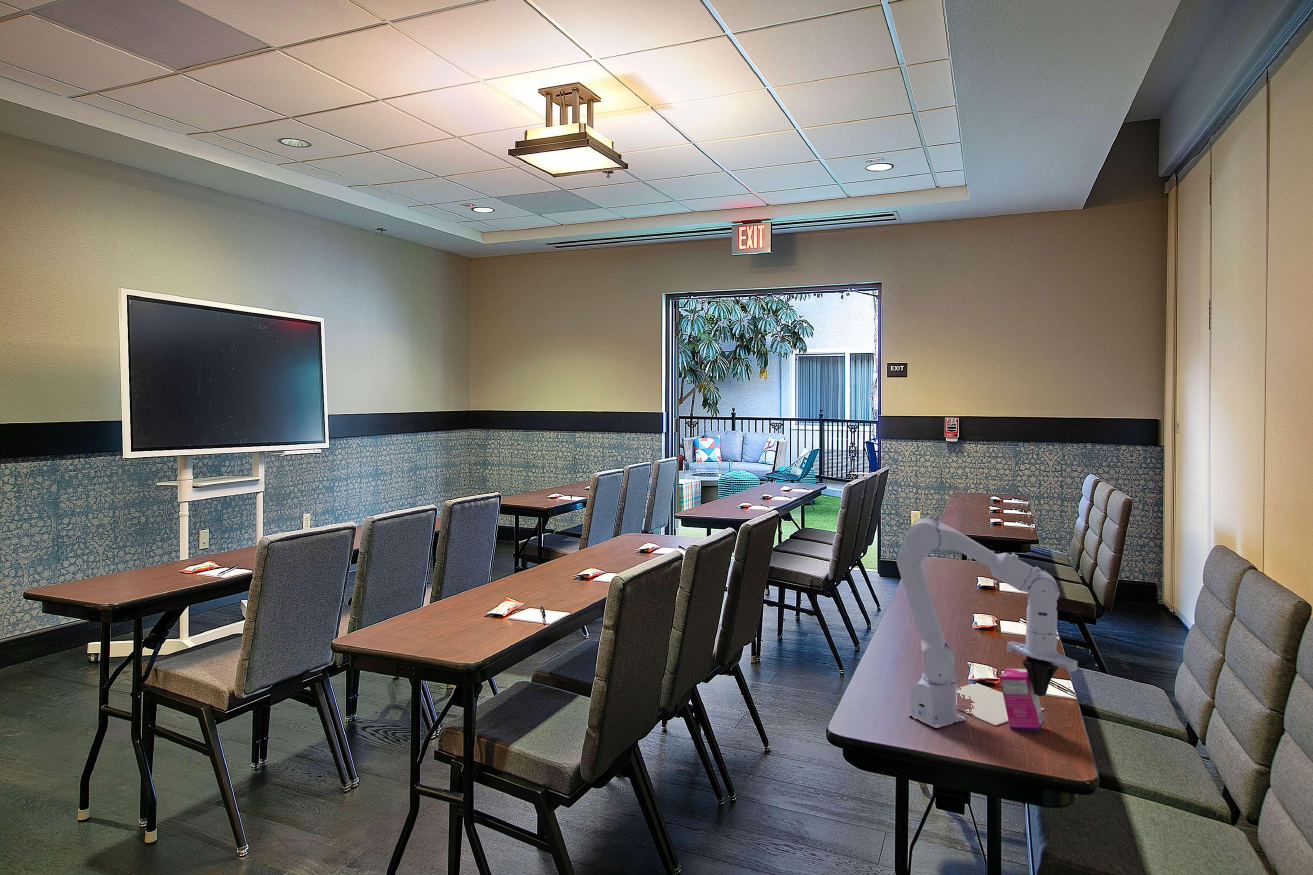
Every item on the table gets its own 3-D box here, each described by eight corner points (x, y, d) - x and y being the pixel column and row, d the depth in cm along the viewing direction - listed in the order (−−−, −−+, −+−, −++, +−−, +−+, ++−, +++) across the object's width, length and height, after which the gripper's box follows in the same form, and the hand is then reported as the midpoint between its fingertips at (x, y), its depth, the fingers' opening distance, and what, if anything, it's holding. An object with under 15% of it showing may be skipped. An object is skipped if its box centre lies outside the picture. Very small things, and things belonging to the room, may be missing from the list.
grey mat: (995, 726, 161) (995, 724, 161) (928, 697, 177) (928, 696, 177) (1044, 709, 169) (1044, 708, 169) (976, 683, 185) (976, 682, 185)
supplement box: (1015, 720, 164) (1005, 667, 165) (1044, 722, 160) (1034, 668, 161) (1008, 729, 160) (998, 675, 160) (1038, 731, 156) (1028, 676, 157)
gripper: (1087, 637, 152) (1085, 702, 153) (1022, 618, 165) (1020, 679, 165) (1065, 642, 149) (1064, 709, 149) (1001, 623, 161) (1000, 685, 162)
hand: (1040, 694), depth 157 cm, fingers closed
